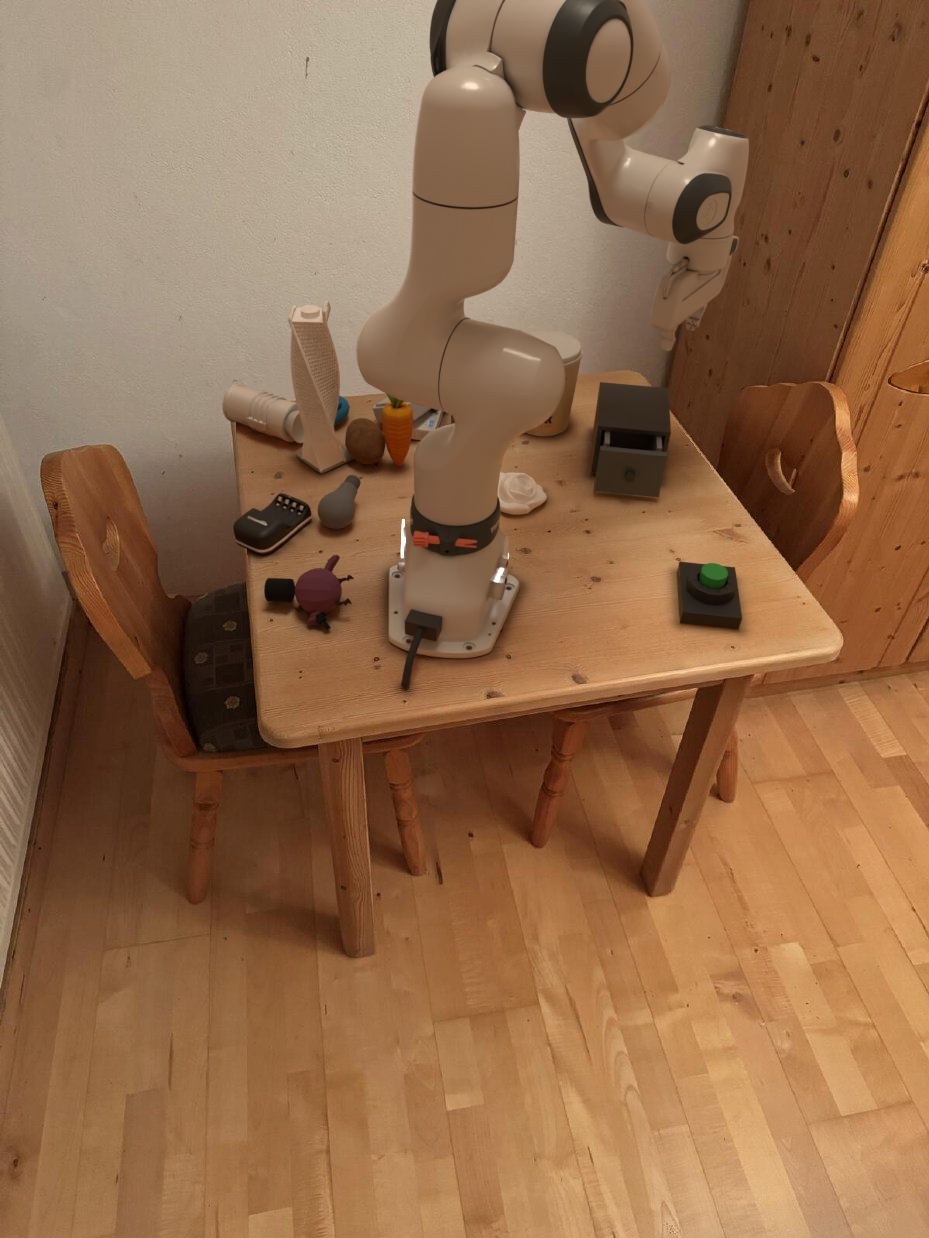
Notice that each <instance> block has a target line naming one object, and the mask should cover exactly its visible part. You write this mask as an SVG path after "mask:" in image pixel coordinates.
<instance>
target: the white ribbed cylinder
mask: <svg viewBox="0 0 929 1238" xmlns="http://www.w3.org/2000/svg"><path fill="white" fill-rule="evenodd" d="M221 406H222V413H223V416H224V418H225V419H226V421H229V422H231V423H238V424H241V425H244V426H246V427H250V428H251V430H254V431H256V432H259V433H261V434H264V435H266V436H267V435H268V436H270V437H274V438H279V439H281V440H283V441H285V442H287V443H293V442H296V443H298V444H303V442H304V433H305V430H304V427H303V424H302V421H301V418H300V414H299V411H298V407H297V403H296V401H291V400H287V398H285V397H283V396H279V395H277V394H276V395H275V394H274V393H271V392H267V391H259V390H256V389H254V388H251V387H247V386H246V385H245V384H242V383H234V384H233V385H231V386H229V388H227V390H226V392H225V394H224V396H223V399H222V405H221Z"/></svg>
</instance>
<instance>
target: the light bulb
mask: <svg viewBox="0 0 929 1238" xmlns="http://www.w3.org/2000/svg"><path fill="white" fill-rule="evenodd" d="M361 484H362V482H361V479H360V478H359V477H358V476H357V475H354V474H349V475H347V477H346V478H345V479H344V481H342V483H340V485H339V486H338V487H337V488H336V489H335V490H333V491H331V492H329V493H327V494H325V495H324V496H323V497H322V498H321V499H320V500H319V503H318V504H317V515H318V518H319V520H320V522H321V523H322V524H323V525H324V526H325V527H327V528H329V529H333V530H340V529H344V528H346V527H347V526H349V525H350V524H351V523H352V522H353V520H354V517H355V514H356V513H355V512H356V511H355V508H356V507H355V500H356V497H357V495H358V490H359V488H360V486H361Z"/></svg>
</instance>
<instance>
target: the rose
mask: <svg viewBox="0 0 929 1238" xmlns="http://www.w3.org/2000/svg"><path fill="white" fill-rule="evenodd" d="M544 491H545V490H544V488H543V487H542V486H541V485H540V484H537V482H536V481H535V479H534V478H533V477H532V476H530V475H528V474H527V473H525V472H513V471H511V472H510V471H509V472H503V471H500V477H499V485H498V498H499V500H500V509H501V513H504V514H508V515H515V516H516V515H517V516H518V515H519V516H520V515H527V514H529V513H530V512H531V511H532V510H534V509H535V508H538V507H540V506H542V504H544V503H545V502H546V500H547V499H548V495H547V493H546V492H544Z"/></svg>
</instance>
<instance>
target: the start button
mask: <svg viewBox="0 0 929 1238" xmlns="http://www.w3.org/2000/svg"><path fill="white" fill-rule="evenodd" d="M704 564H705V565H704V566H703V567H702V569H701V573H700V576H699V581H700V583H701V584H702V585H703V586H705V587H708V588H711V589H720V588H722V587H723V586H724V585H725V583H726V579H727V576H728V571H727V569H726V568H725V567H723V566H724V565H722V564H719V563H715V562H708V563H704Z"/></svg>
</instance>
